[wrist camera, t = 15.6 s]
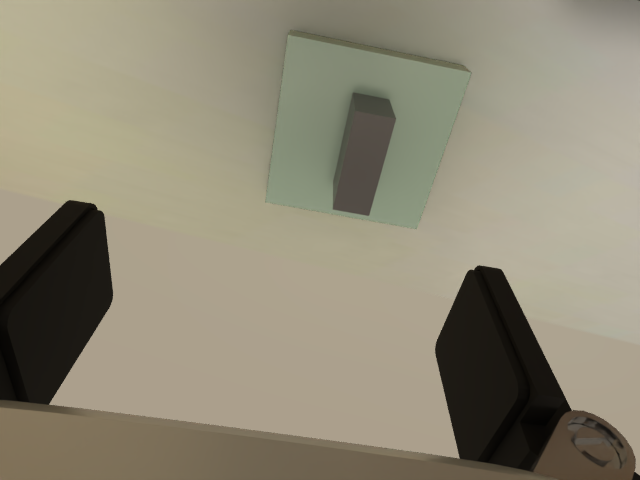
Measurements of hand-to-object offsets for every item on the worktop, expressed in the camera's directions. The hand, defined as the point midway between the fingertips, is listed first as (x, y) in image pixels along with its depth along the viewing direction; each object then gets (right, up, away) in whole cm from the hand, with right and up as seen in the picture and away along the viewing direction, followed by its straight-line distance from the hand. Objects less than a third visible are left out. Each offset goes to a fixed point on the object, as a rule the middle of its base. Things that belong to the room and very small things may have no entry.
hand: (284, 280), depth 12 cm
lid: (+4, +9, +24) cm, 26 cm away
